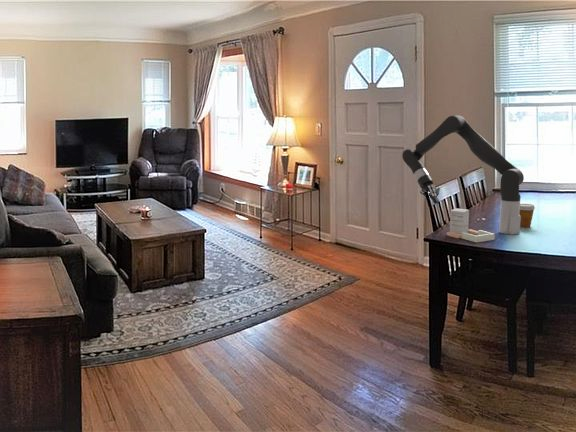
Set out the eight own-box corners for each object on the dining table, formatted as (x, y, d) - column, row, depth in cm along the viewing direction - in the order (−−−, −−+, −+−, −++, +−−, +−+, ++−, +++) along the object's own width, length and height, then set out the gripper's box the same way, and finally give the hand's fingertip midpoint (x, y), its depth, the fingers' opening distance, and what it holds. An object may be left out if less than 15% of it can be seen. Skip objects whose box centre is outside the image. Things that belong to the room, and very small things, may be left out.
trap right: (481, 235, 284) (481, 232, 283) (477, 235, 282) (477, 232, 282) (470, 232, 291) (470, 229, 290) (466, 232, 289) (466, 229, 289)
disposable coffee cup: (536, 226, 302) (537, 204, 300) (529, 229, 296) (531, 207, 293) (518, 224, 309) (520, 202, 307) (511, 226, 302) (513, 205, 300)
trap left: (462, 237, 278) (462, 234, 278) (457, 238, 277) (457, 235, 277) (451, 234, 285) (451, 231, 285) (446, 235, 284) (446, 232, 284)
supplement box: (454, 231, 292) (455, 208, 290) (468, 233, 288) (469, 209, 285) (449, 234, 287) (450, 210, 284) (462, 235, 282) (464, 211, 280)
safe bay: (494, 239, 273) (494, 233, 273) (476, 242, 268) (476, 236, 268) (479, 235, 282) (479, 229, 282) (461, 238, 277) (461, 232, 277)
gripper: (416, 174, 304) (430, 199, 295) (435, 173, 309) (450, 197, 301) (410, 183, 309) (424, 208, 301) (429, 181, 315) (443, 206, 306)
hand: (437, 202), depth 301 cm, fingers closed
